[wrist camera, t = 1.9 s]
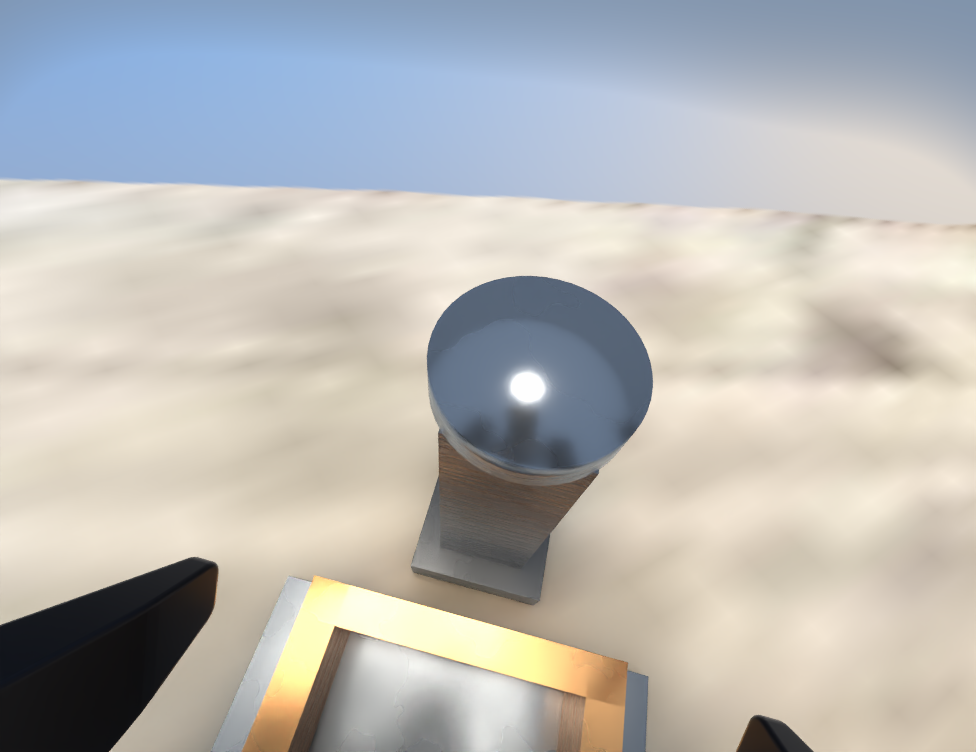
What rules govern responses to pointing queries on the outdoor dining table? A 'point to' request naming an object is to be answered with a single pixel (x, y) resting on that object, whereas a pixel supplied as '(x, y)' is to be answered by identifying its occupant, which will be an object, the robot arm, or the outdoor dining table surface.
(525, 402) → the grey piece
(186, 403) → the outdoor dining table surface
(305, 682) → the keeper cradle
